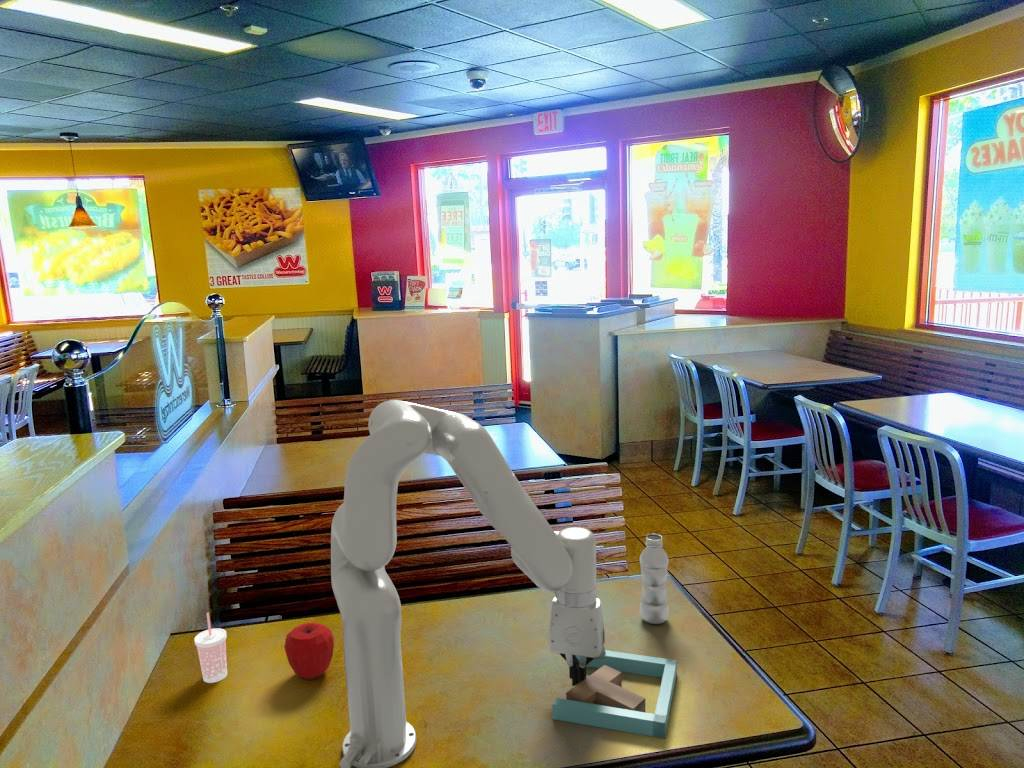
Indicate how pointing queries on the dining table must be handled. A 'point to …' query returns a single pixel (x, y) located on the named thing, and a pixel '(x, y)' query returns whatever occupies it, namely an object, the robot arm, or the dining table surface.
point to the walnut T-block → (606, 691)
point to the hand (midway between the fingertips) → (578, 682)
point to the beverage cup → (212, 653)
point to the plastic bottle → (654, 581)
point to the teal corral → (623, 717)
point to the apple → (309, 649)
